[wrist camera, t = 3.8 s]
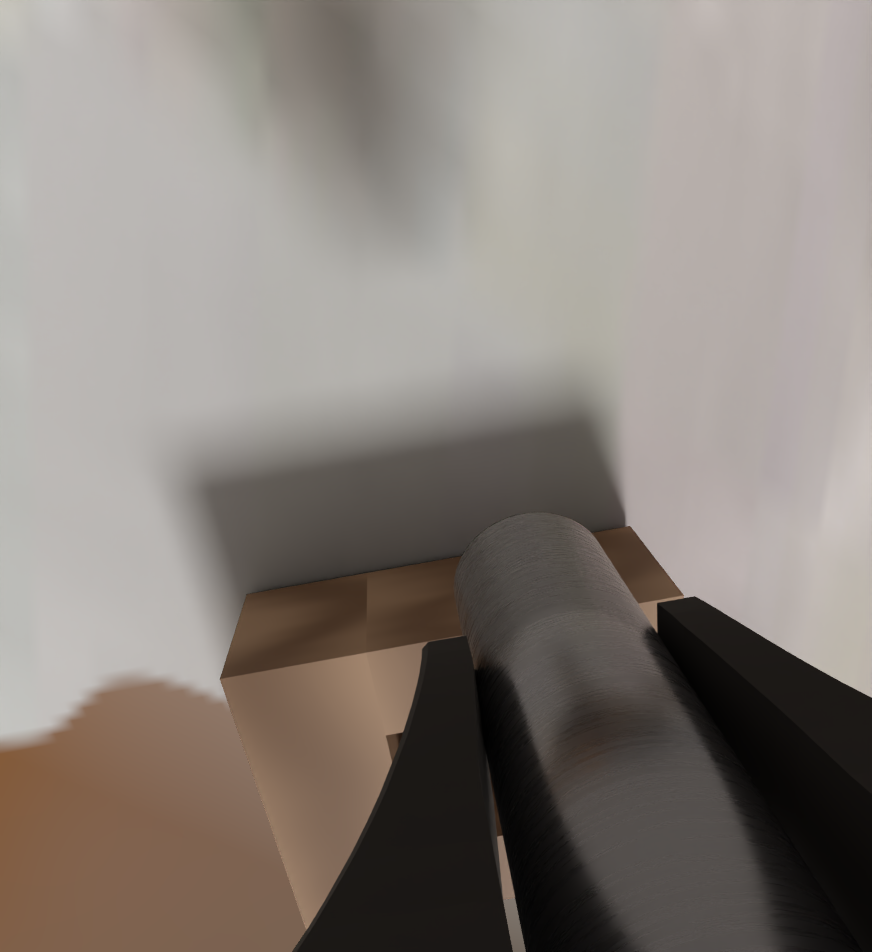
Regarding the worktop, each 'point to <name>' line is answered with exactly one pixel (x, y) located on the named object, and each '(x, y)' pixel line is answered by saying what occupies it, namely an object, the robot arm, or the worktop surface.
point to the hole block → (355, 696)
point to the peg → (617, 767)
